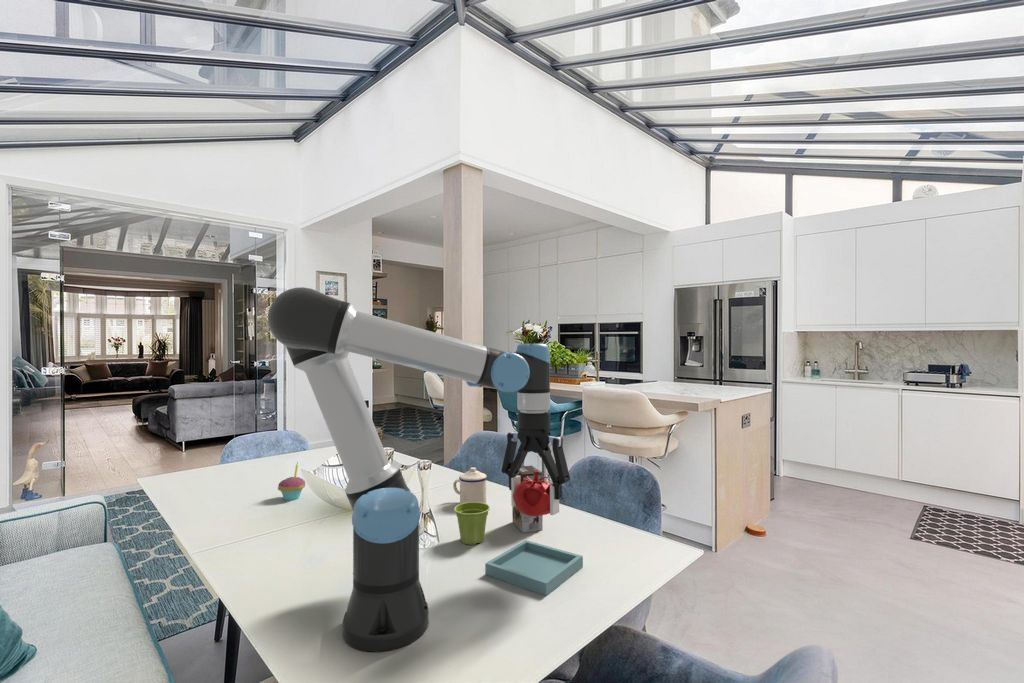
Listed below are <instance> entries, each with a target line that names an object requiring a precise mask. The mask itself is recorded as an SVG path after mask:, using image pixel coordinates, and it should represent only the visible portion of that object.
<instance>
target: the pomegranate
mask: <svg viewBox="0 0 1024 683" xmlns="http://www.w3.org/2000/svg"><path fill="white" fill-rule="evenodd" d="M539 471H540V470H539ZM539 471H534V479H533V480H531V479H530V478H529V477H528V476H524V477H522V478H525V477H527V478H528V480H527V479H525V480H523V481H522V483H520V485H518V486H517V487H516V488H515V491H514V493H513V499H514V502H515V505H516V507H517V509H518V510H519V511H520V512H521V513H523V514H525V515H528V516H541V515H543V516H546V515H550V485H551V484H552V483H551V482H550V481H546V480H543V481H541V480H542V479H548V478H549V476H545V475H544V476H543V477H541V478H540V479H539V480H538V474H539Z"/></svg>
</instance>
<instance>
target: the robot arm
mask: <svg viewBox="0 0 1024 683" xmlns="http://www.w3.org/2000/svg"><path fill="white" fill-rule="evenodd" d="M267 323H268V328H269V330H270V332H271V333H272V335H273V337H274V338H275V339H276V340H277V341H278V342H279V343H281V344H282V345H283V346H285V348H286V351H287V352H288V355H289V358H290V360H291V363H292V364H293V367H294V368H296V369H298V370H300V371H303V372H304V373H305V375H306V378H307V380H308V383H309V385H310V387H311V391H312V392H313V395H314V397H315V400H316V402H317V405H318V407H319V410H320V411H321V412H320V413H321V414H322V416H323V417H322V418H323V420H324V421H325V424H326V426H327V429H328V431H329V434H330V436H331V440H332V442H333V444H334V446H335V450H336V451H337V454H338V457H339V459H340V461H341V463H342V466H343V468H344V472H345V473H346V476H347V478H348V482H347V484H346V486H345V489H344V492H345V495H346V497H347V500H348V503H349V504H350V507H351V509H352V515H351V524H352V527H353V529H352V530H353V531H352V533H353V535H352V544H353V545H352V553H353V554H352V557H353V558H352V575H353V576H352V578H353V580H352V584H353V585H352V591H351V593H350V597H349V601H348V604H347V608H346V611H345V613H344V615H343V619H342V638H343V640H344V642H345V643H346V644H348V645H349V646H350V647H352V648H354V649H357V650H360V651H366V652H383V651H385V652H386V651H391V650H395V649H398V648H401V647H404V646H406V645H409V644H411V643H412V642H414V641H416V640H417V639H419V638H420V637H421V636H422V635H423V634H424V633H425V631H426V630H427V628H428V626H429V624H430V622H429V621H430V619H429V617H430V616H429V614H430V613H429V612H430V610H429V605H428V602H427V601H426V600H427V599H426V597H425V593H424V590H423V587H422V585H421V584H422V583H421V581H420V539H419V538H420V518H421V509H420V506H419V499H418V498H417V496H416V495H415V494H414V493H413V492H411V489H410V488H409V487H408V485H407V483H406V481H405V478H404V475H403V474H402V471H401V468H400V466H399V465H398V464H396V463H394V462H393V463H392V462H391V461H389V459H388V457H387V453H386V451H385V448H384V446H383V443H382V441H381V438H380V436H379V433H378V431H377V428H376V426H375V424H374V421H373V418H372V416H371V413H370V411H369V408H368V405H367V403H366V400H365V399H364V396H363V393H362V391H361V389H360V386H359V383H358V380H357V378H356V376H355V374H354V371H353V368H352V366H351V364H350V363H351V362H350V360H349V358H348V355H349V353H352V354H357V355H361V356H364V357H370V358H373V359H376V360H381V361H385V362H387V363H392V364H397V365H399V366H400V365H401V366H405V367H408V368H413V369H416V370H420V371H423V372H428V373H432V374H437V375H440V376H443V377H449V378H452V379H456V380H460V381H465V383H466V384H467V386H469V387H476V388H477V387H478V388H482V387H487V388H491V389H495V390H498V391H500V392H503V393H514V392H517V393H516V394H517V399H516V400H517V410H518V412H517V428H518V432H517V431H510V432H507V434H506V439H507V440H506V441H507V444H506V447H505V453H504V456H503V460H502V461H503V462H502V466H501V472H502V474H506V475H507V477H508V490H509V491H511V499H510V500H511V504H510V505H511V507H512V506H516V505H515V502H514V499H513V493H514V491H515V488H516V487H517V486H518V485H520V483H521V476H516V475H517V474H519V473H518V472H519V470H520V468H521V466H523V463H524V461H525V460H526V457H527V455H528V453H530V452H532V453H535V454H538V456H539V458H541V460H542V463H543V464H544V466H545V469H546V472H547V473H548V476H549V477H550V481H551V482H552V483H551V485H550V513H549V516H555V515H557V514H559V513H560V499H562V498H563V484H565V483H568V482H570V481H571V477H570V476H571V475H570V472H569V469H568V465H567V460H566V456H565V452H564V448H563V446H564V445H563V444H564V438H563V437H562V436H552V434H551V432H550V431H551V412H550V411H549V410H550V409H551V354H550V348H549V346H548V344H545V343H519V344H517V346H516V351H514V352H512V351H505V350H500V349H496V348H493V347H488V346H484V345H481V344H478V343H474V342H471V341H467V340H464V339H460V338H456V337H453V336H450V335H447V334H446V335H445V334H442V333H438V332H434V331H431V330H427V329H424V328H420V327H416V326H412V325H409V324H406V323H402V322H398V321H394V320H391V319H387V318H385V317H384V318H383V317H381V316H376V315H373V314H370V313H366V312H362V311H359V310H357V309H356V308H355V306H354V305H353V304H352V302H351V303H350V302H347V301H343V300H341V299H337V298H334V297H332V296H329V295H327V294H325V293H322V292H320V291H318V290H316V289H313V288H310V287H309V288H308V287H304V286H303V287H301V286H300V287H294V288H293V287H292V288H289V289H286V290H284V291H283V292H281V293H280V294H278V295H277V296H276V297H275V299H274V300H272V302H271V305H270V306H269V309H268V312H267ZM518 441H519V443H520V445H519V447H518ZM549 444H550V445H549ZM550 446H551V447H552V450H551V448H550ZM517 447H518V448H517ZM516 451H517V453H516ZM552 454H553V455H552Z"/></svg>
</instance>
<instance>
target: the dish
mask: <svg viewBox="0 0 1024 683" xmlns="http://www.w3.org/2000/svg"><path fill="white" fill-rule="evenodd" d="M484 566H485V568H484V569H485V572H484V574H485V575H486V576H487V577H491V578H494V579H497V580H500V581H503V582H505V583H509V584H512V585H514V586H517V587H520V588H523V589H526V590H529V591H531V592H534V593H537V594H540V595H543V596H546V597H547V596H548V595H550V594H551V593H552V592H553V591H554V590H555V589H557V588H559V586H561V585H562V584H563V583H564V582H566V580H568V579H569V578H571V577H572V576H573V575H574V574H576V573H577V572H578V571H580V570H581V569H582V568H583V567H584V556H583V555H581V554H577V553H573V552H570V551H566V550H562V549H558V548H556V547H555V548H554V547H552V546H548V545H544V544H541V543H537V542H534V541H530V540H523V541H521V542H519V543H518V544H517V545H514V546H513V547H511V548H509V549H507V550H506V551H504V552H503V553H501V554H499V555H497V556H495V557H494V558H492V559H490V560H488V561H487V562H485V565H484Z"/></svg>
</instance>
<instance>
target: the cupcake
mask: <svg viewBox="0 0 1024 683" xmlns="http://www.w3.org/2000/svg"><path fill="white" fill-rule="evenodd" d="M298 467H299V462H298V461H297V462H296V465H295V470H294V475H293V476H289V477H287V478H285V479H283V480H281V481H280V482H279V483H278V485H277V491H280V493H281V494H282V497H283V500H285V501H295V500H298V499H300V498H301V494H302V491H303V489H304V488H305V487H306V481H305V480H304V478H302V477H299V476H297V474H298V470H299V469H298Z"/></svg>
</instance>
